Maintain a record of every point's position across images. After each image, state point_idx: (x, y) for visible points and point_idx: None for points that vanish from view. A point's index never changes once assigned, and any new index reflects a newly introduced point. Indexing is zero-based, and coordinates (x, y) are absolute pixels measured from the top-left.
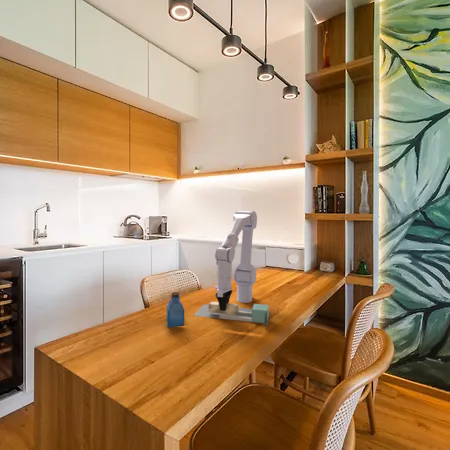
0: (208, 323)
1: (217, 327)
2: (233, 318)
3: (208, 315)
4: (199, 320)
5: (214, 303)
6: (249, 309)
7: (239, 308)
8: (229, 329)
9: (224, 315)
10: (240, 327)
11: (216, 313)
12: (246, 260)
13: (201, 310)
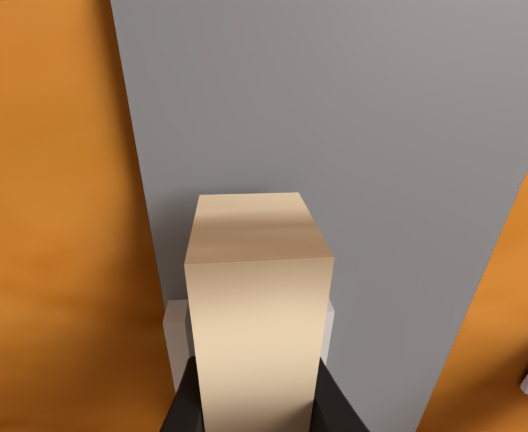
0: (58, 215)
1: (22, 308)
2: None
3: (196, 181)
4: (80, 90)
5: (244, 338)
6: (410, 416)
7: (429, 367)
8: (44, 381)
9: (177, 358)
10: (119, 418)
11: None
12: None
13: (347, 26)
